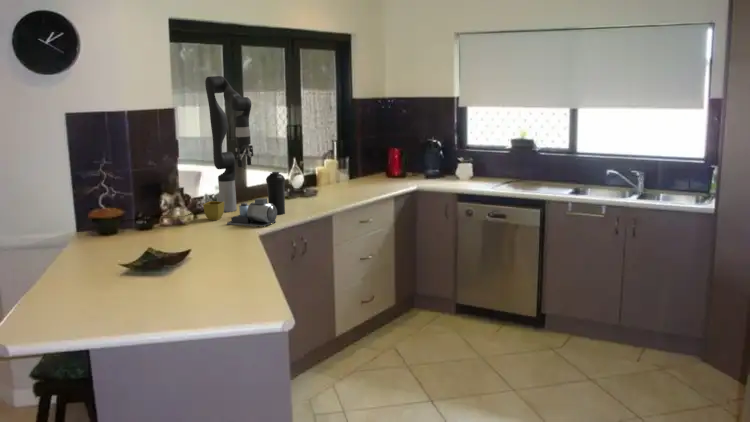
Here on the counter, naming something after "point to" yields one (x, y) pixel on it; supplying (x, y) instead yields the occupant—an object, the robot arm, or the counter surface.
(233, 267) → the counter surface
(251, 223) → the electric motor
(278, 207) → the water bottle
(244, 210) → the blue capped cylinder
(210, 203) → the flower pot
